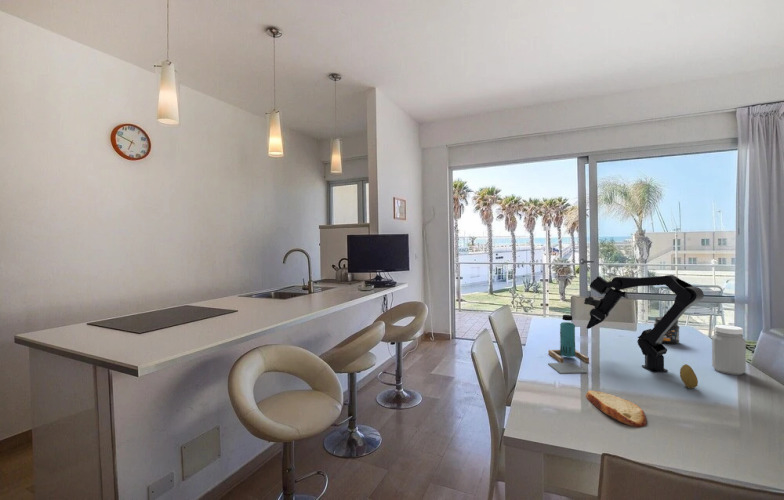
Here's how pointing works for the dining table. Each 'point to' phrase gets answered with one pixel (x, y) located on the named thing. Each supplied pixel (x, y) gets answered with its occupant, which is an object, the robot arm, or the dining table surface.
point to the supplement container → (670, 333)
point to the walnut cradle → (556, 354)
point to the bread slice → (618, 408)
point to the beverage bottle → (567, 337)
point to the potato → (688, 376)
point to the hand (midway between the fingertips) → (588, 327)
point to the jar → (729, 350)
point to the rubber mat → (566, 368)
